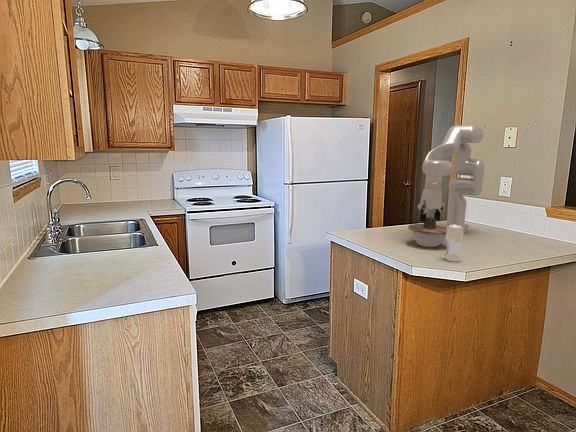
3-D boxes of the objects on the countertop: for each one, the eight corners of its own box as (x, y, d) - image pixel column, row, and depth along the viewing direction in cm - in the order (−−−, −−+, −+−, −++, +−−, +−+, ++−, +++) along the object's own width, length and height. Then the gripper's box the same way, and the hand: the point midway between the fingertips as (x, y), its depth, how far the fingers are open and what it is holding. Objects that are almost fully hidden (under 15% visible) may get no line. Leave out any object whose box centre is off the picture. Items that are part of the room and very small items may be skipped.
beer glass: (452, 262, 164) (456, 228, 161) (439, 258, 170) (442, 225, 167) (463, 260, 167) (467, 227, 164) (450, 256, 173) (454, 223, 170)
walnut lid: (428, 224, 205) (429, 213, 204) (459, 232, 187) (461, 220, 186) (399, 227, 196) (400, 215, 195) (430, 235, 178) (431, 223, 177)
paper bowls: (430, 250, 182) (432, 234, 181) (405, 243, 195) (406, 228, 194) (450, 246, 190) (452, 231, 189) (425, 240, 203) (426, 225, 202)
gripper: (439, 185, 195) (436, 218, 198) (414, 186, 187) (411, 220, 190) (451, 186, 188) (448, 221, 191) (426, 187, 180) (422, 223, 183)
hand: (429, 220), depth 191 cm, fingers open, 9 cm apart
